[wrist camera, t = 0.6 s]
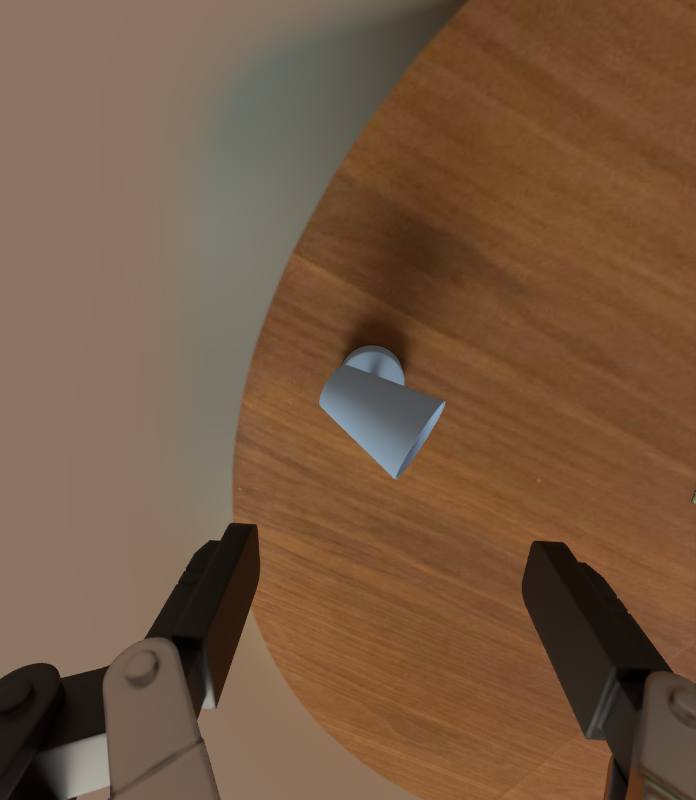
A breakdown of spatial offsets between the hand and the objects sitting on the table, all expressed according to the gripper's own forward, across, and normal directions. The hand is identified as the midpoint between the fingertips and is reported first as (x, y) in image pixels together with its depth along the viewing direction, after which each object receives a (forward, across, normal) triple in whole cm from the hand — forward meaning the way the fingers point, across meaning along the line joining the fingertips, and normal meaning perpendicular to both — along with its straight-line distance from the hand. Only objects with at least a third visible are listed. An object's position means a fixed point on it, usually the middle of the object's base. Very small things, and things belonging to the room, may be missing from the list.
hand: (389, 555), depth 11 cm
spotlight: (+17, 0, 0) cm, 17 cm away
